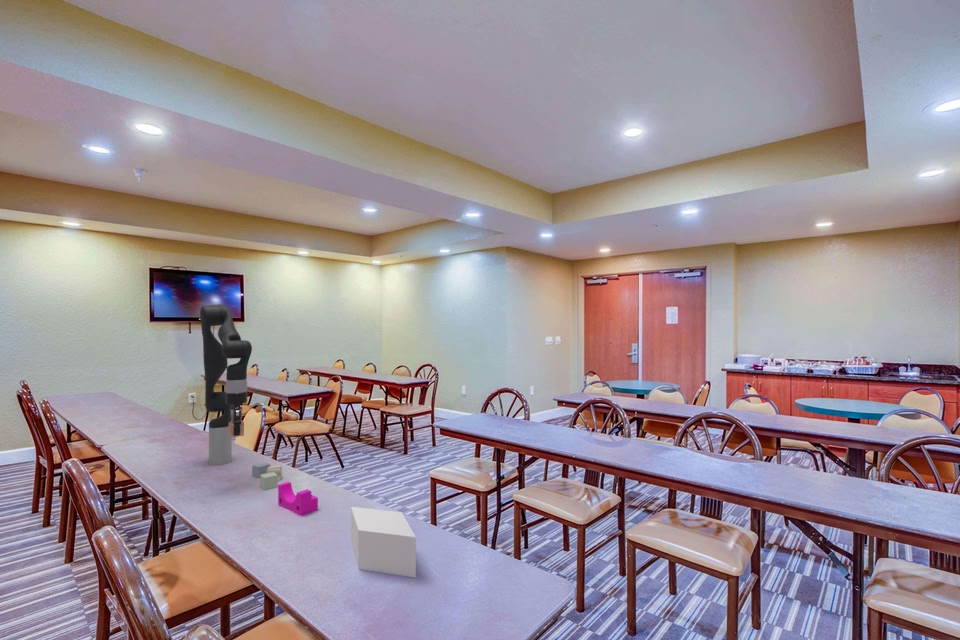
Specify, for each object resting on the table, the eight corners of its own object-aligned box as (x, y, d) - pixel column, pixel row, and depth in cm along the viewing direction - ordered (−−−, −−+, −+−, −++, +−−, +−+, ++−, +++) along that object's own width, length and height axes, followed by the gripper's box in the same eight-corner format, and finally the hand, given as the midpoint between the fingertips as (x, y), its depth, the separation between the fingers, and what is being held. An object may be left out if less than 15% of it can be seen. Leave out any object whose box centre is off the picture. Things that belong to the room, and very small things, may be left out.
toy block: (317, 510, 152) (317, 488, 152) (301, 516, 147) (301, 494, 147) (294, 500, 161) (294, 479, 161) (278, 505, 156) (278, 484, 156)
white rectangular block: (371, 532, 135) (371, 499, 136) (436, 565, 117) (436, 527, 117) (328, 551, 124) (328, 514, 125) (393, 591, 106) (393, 548, 106)
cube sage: (260, 487, 174) (260, 474, 174) (273, 484, 177) (273, 471, 177) (264, 490, 170) (264, 478, 170) (277, 487, 173) (277, 475, 173)
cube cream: (268, 478, 183) (268, 466, 183) (281, 477, 185) (281, 465, 185) (266, 482, 179) (266, 470, 179) (279, 481, 180) (279, 469, 180)
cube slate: (252, 477, 186) (252, 465, 186) (263, 473, 190) (263, 462, 190) (258, 479, 183) (258, 467, 183) (270, 475, 187) (270, 464, 187)
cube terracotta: (228, 434, 174) (228, 422, 174) (242, 433, 176) (243, 420, 176) (229, 437, 169) (229, 424, 169) (243, 435, 172) (244, 422, 172)
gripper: (224, 389, 177) (224, 431, 177) (226, 394, 165) (226, 439, 165) (245, 388, 181) (245, 429, 181) (249, 392, 169) (248, 436, 169)
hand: (236, 433), depth 173 cm, fingers closed on cube terracotta, 5 cm apart
